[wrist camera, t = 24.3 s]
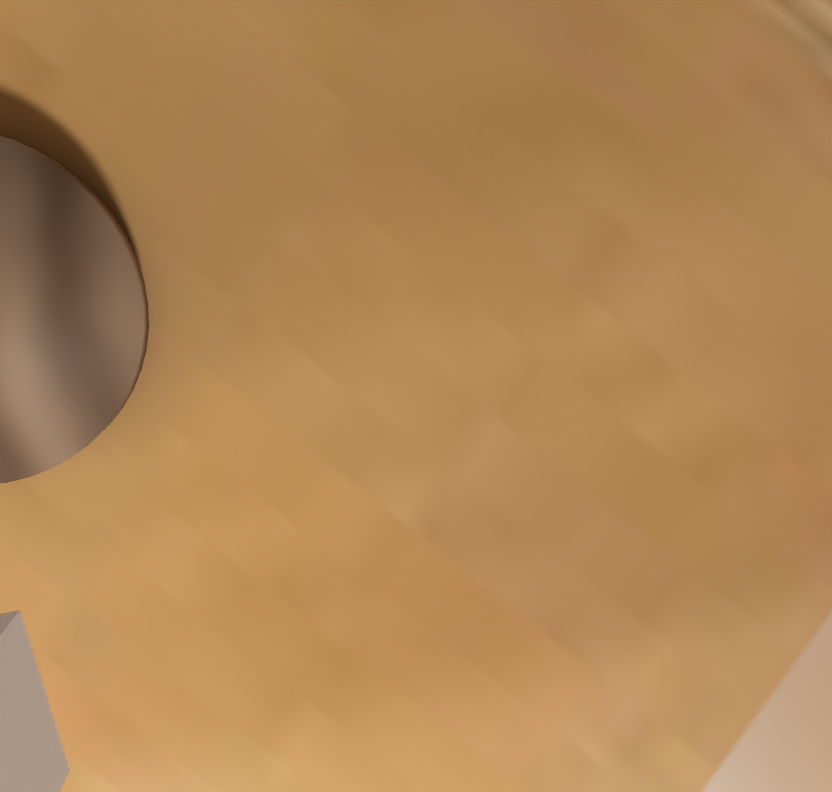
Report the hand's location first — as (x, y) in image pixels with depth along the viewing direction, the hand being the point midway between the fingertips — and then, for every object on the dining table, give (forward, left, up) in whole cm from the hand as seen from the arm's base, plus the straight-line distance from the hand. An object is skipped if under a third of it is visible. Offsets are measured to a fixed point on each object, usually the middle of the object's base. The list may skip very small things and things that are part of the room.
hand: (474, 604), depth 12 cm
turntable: (+21, -4, -33) cm, 40 cm away
